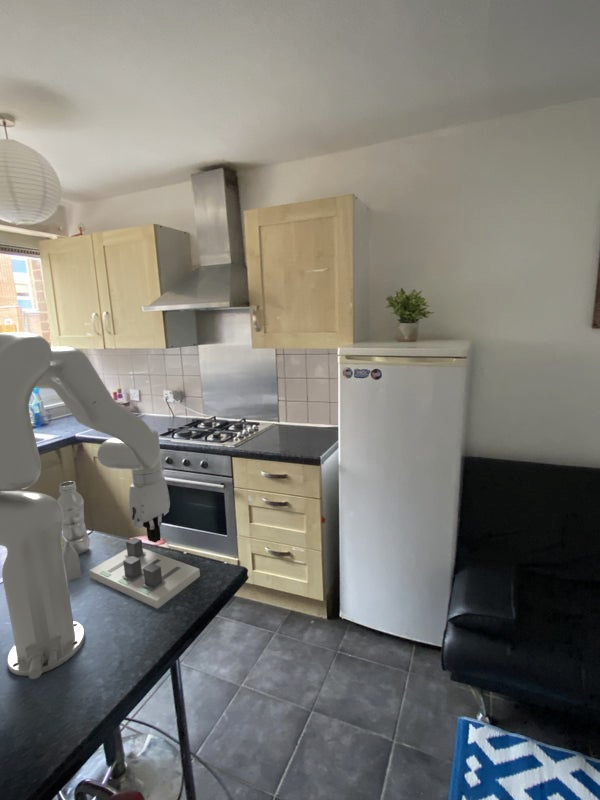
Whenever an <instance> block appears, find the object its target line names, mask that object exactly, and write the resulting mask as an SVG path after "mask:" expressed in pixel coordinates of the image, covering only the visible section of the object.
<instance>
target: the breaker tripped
mask: <svg viewBox="0 0 600 800" xmlns="http://www.w3.org/2000/svg"><path fill="white" fill-rule="evenodd" d="M125 545H126V549H127V555H126V556H125V557H127V558H129V557H130V556H134V557H137V558H139V557H140V556H142V555H144V554H145V553H146V552H143V541H142V539H140V538H137V537H135V536H134V537H132V538H130V539H128V540H126V542H125Z"/></svg>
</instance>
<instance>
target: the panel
mask: <svg viewBox="0 0 600 800" xmlns="http://www.w3.org/2000/svg"><path fill="white" fill-rule="evenodd" d="M142 548H143V547H142ZM143 552H146V553H145V554H144V555H142V556H140V557H139V559H140V562H141V570H142V571H143V569H144V568H145V567H147V566H148V565H150V564H155V565H157V566H160V567H161V574H162V580H165V582H164V583H163V584H161V585H160V586H158V587H157V588H156V589H154V590H151V589H148V588H146V587H144V586H142V585H143V584H144V583H145V580H144V574H143V575H141V576H140V577H138V578H137V579H135V580H134V581H130V580H128V579H125V578H123V577H122V576H123V575H125V571H124V563H123V561H124V560H125V559H127V557H125V556H126V555H127V548H126V549H124V550H122V551H121V552H119V553H117V554H116V555H114V556H111V557H110V558H108V559H107V560H105V561H103V562H101V563H99V564H98V565H96V566H95V567H93V568H91V569H89V578H91V579H92V580H95V581H97V582H99V583H101V584H102V585H105V586H107V587H110V588H111V589H114V590H117V591H118V592H120V593H123V594H124V595H127V596H129V597H131V598H134V599H136V600H138V601H140V602H142V603H144V604H146V605H149V606H151V607H153V608H155V609H157V610H158V609H159V608H161V607H163V605H164V604H166V603H167V602H169V600H171V599H172V598H174V597H175V596H176V595H178V594H179V593H181V592H182V591H183V590H185V589H186V588H187V587H188V586H189V585H190V584H192V583H194V581H196V580H197V579H198V578H199V577H201V572H200V568H198V567H195V566H193V565H190V564H187V563H184V562H182V561H179V560H176V559H174V558H172V557H171V558H170V557H168V556H165V555H163V554H160V553H158V552H157V553H156V552H154V551H153V550H152V551H151V550H149V549H146V548H143Z"/></svg>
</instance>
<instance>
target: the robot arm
mask: <svg viewBox="0 0 600 800" xmlns="http://www.w3.org/2000/svg"><path fill="white" fill-rule="evenodd" d="M35 389H50V390H51V389H52V390H53V391H55V393H56V394H57V395H58V396H59V398H60V399H61V401H62V402H63V403H64V405H65V406H66V407H67V409H68V410H69V412H70V414H71V415H72V416H73V418H74V419H75V420H76V421H77V422H78V423H79V424H80V425H83V426H85V427H86V428H89V429H92V430H94V431H96V432H100V433H103V434H105V435H109V436H111V437H110V438H107V439H106V440H105V441H103V442H102V443H101V444H100V445H99V447H98V449H97V453H96V455H97V460H98V462H99V463H100V464H101V465H102V466H103V467H106V468H110V469H117V470H130V471H131V480H132V484H130V486H129V488H128V489H129V490H128V491H129V492H128V513H129V514H128V515H129V518H130V520H131V521H133V527H134V528H136V529H142V528H145V529H146V534H147V535H146V537H147V540H148V541H149V542H153V543H157V542H159V541H161V540H162V539H161V528H160V527H161V525H162V521H163V519H164V517H165V516H166V515H167V514H168V513H169V512H170V508H171V507H170V506H171V501H170V493H169V489H168V484H167V481H166V478H165V477H164V475H163V471H165V467H164V466H163V465H162V457H161V456H162V455H161V447H160V438H159V432H158V431H157V430H155V429H152V428H150V427H149V425H148V424H147V423H146V422H145V421H144V420H143V419H141V418H140V416H137V415H136V414H135V413H133V412H132V411H131V410H129V409H128V408H126V407H125V406H124V405H122V404H120V403H119V402H117V401H116V400H115V399H114V398H113V396H112V394H111V393H110V391H109V390H108V388H107V387H106V385H105V384H104V382H103V380H102V379H101V377H100V375H99V373H98V372H97V370H96V369H95V367H94V366H93V364H92V362H91V360H90V359H89V357H88V356H87V355H86V354H85V353H84V352H83V351H81V350H80V349H78V348H75V347H72V346H71V347H70V346H51V345H50V343H49V342H48V340H46V338H44V337H43V336H41V335H39V334H35V333H31V332H24V331H22V332H21V331H15V332H14V331H10V332H7V331H6V332H0V546H3V547H5V548H6V550H7V552H6V553H7V554H6V557H5V560H4V562H3V565H2V571H1V575H2V576H1V577H2V584H3V587H4V593H5V598H6V604H7V610H8V613H9V620H10V625H11V629H12V636H13V641H14V644H13V646H12V648H10V650H9V652H8V655H7V658H6V663H7V667H8V670H9V671H10V672H11V673H12V674H15V675H17V676H21V677H27V676H28V678H29V679H30V680H35V679H38V678H39V677H41V675H42V674H43V673H46V672H49V671H51V670H54V669H55V668H57V667H59V666H61V665H62V664H64V663H65V662H67V661H68V660H70V658H72V657H73V656H74V655H75V654H77V652H78V651H79V650H80V649H81V647H82V645H83V643H84V642H85V637H86V635H85V629H84V626H83V625H82V624H81V623H80V622H78V621H74V618H73V609H72V603H71V597H70V591H69V586H68V582H67V577H66V571H65V565H64V558H63V551H62V534H63V533H62V528H63V510H62V507H61V505H60V504H59V502H58V501H57V500H58V499H56V498H54V497H53V496H51V495H48V494H45V493H41V492H36V491H35V492H34V491H27V490H26V491H24V490H25V489H28V488H30V487H32V486H34V484H35V483H36V482H37V481H38V480H39V477H40V476H41V473H42V463H41V457H40V452H39V449H38V444H37V440H36V437H35V436H36V435H35V432H34V428H33V424H32V421H31V420H32V419H31V414H30V401H31V396H32V394H33V393H34V390H35Z"/></svg>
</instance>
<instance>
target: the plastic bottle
mask: <svg viewBox="0 0 600 800" xmlns="http://www.w3.org/2000/svg"><path fill="white" fill-rule="evenodd" d="M59 493H60V495H59V497H58V498H57V499H56V500H57V501H58V502H59V504H60V505H61V507H62V510H63V528H62V534H63V535H64V537H65V538H66V539H67V540H68V541H69V542H70V544H71V545H72V546H73V548H74V549H75V551H76V552H77V553H78V556H80V555H82V554H84V553H85V552H87V551H88V549H89V548H90V545H91V540H90V537H89V534H88V531H87V527H86V524H85V514H84V504H85V503H84V498H83V496H82V494H80V493H79V492H78V491H77V486H76V482H75V481H71V480H70V481H65V482H62V483H60V484H59Z"/></svg>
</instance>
